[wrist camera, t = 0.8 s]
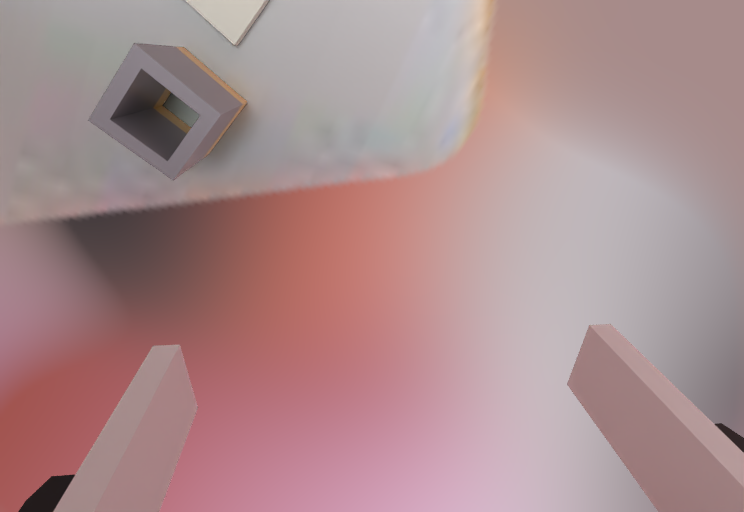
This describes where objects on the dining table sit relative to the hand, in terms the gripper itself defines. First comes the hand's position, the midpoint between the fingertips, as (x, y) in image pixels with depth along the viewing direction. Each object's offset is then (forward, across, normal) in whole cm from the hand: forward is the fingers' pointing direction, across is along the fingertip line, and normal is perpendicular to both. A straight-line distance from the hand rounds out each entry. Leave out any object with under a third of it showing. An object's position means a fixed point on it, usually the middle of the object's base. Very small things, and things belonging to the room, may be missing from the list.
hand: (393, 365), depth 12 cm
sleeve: (+21, -11, +6) cm, 24 cm away
